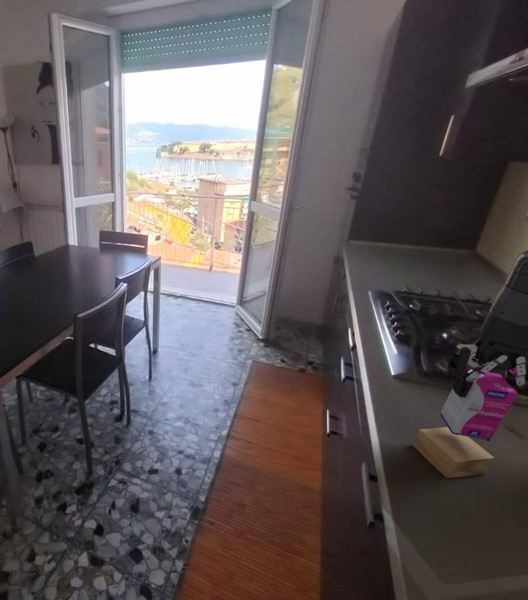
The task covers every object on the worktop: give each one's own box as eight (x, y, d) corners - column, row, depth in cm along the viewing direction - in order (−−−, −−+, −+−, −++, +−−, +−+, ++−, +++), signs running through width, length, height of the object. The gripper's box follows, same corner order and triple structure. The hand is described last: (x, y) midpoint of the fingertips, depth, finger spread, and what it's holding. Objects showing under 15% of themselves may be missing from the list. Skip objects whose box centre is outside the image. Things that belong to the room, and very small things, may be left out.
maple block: (447, 441, 75) (455, 426, 73) (484, 474, 68) (494, 457, 66) (412, 445, 75) (419, 429, 73) (446, 478, 68) (455, 461, 66)
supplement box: (452, 435, 66) (476, 386, 61) (438, 414, 71) (460, 366, 66) (491, 443, 64) (519, 392, 59) (474, 420, 69) (499, 372, 65)
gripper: (488, 323, 55) (448, 406, 62) (598, 329, 53) (544, 415, 60) (456, 302, 62) (423, 380, 69) (553, 307, 60) (509, 387, 67)
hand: (480, 396), depth 64 cm, fingers closed on supplement box, 6 cm apart
